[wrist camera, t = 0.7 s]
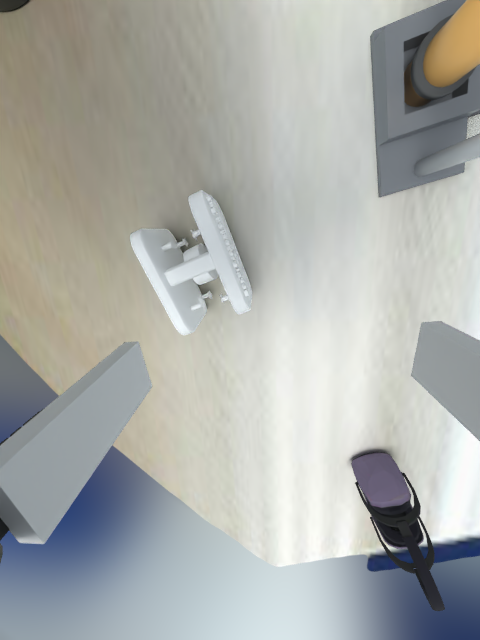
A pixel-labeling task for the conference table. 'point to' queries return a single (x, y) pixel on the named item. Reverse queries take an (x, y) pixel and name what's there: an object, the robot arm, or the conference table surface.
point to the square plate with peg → (418, 109)
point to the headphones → (396, 516)
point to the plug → (444, 57)
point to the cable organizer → (193, 265)
